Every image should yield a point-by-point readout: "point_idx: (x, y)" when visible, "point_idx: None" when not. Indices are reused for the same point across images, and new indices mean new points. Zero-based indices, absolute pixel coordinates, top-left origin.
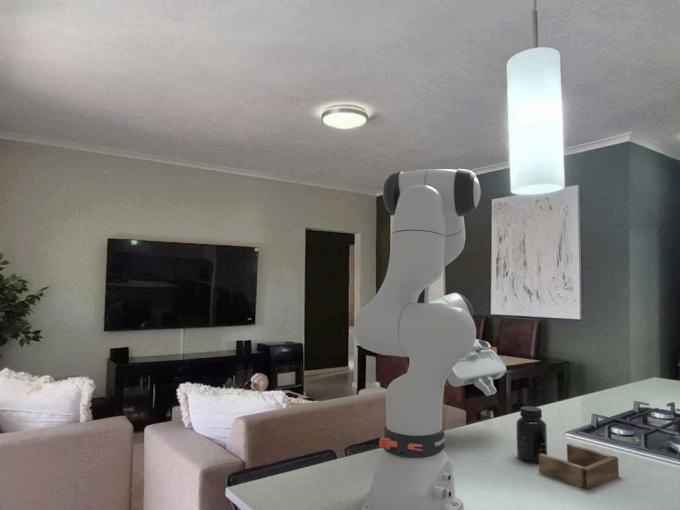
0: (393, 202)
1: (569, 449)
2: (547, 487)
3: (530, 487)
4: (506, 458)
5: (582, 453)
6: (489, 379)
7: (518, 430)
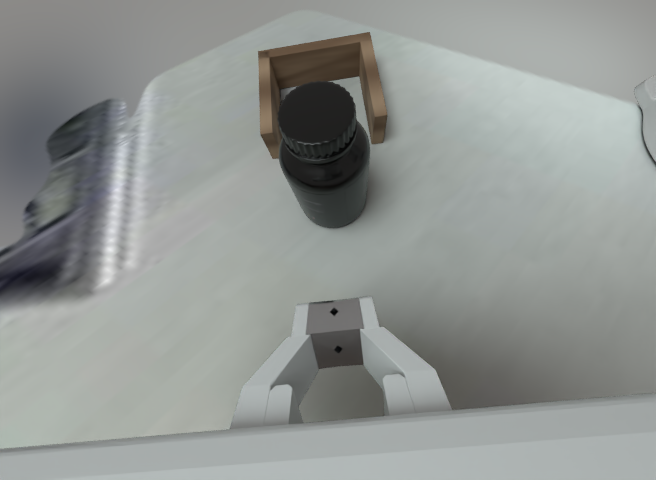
0: None
1: (274, 134)
2: (421, 95)
3: (451, 105)
4: (384, 227)
5: (274, 109)
6: (284, 386)
7: (367, 169)
